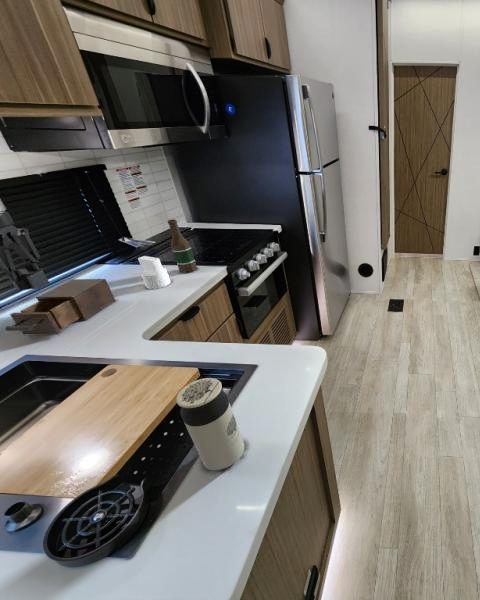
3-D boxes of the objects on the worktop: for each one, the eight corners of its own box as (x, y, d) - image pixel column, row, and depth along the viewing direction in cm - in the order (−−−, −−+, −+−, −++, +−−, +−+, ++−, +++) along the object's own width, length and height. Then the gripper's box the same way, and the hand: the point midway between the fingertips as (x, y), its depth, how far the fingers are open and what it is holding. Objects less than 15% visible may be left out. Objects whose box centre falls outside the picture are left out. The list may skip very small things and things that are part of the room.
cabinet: (86, 320, 118) (73, 296, 113) (50, 321, 118) (35, 297, 113) (116, 300, 131) (105, 278, 126) (83, 301, 130) (71, 279, 126)
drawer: (44, 343, 104) (31, 322, 101) (7, 343, 104) (-7, 322, 100) (91, 313, 120) (81, 294, 117) (59, 313, 120) (48, 294, 117)
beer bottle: (201, 269, 158) (185, 219, 146) (185, 274, 152) (167, 223, 141) (192, 265, 161) (175, 217, 150) (175, 271, 156) (157, 221, 144)
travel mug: (194, 468, 67) (163, 404, 59) (219, 436, 74) (194, 374, 66) (230, 474, 66) (204, 410, 58) (251, 440, 73) (231, 378, 64)
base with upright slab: (175, 281, 146) (166, 255, 140) (156, 290, 139) (145, 263, 133) (160, 278, 149) (151, 253, 143) (141, 287, 141) (129, 260, 135)
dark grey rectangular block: (38, 289, 105) (29, 273, 103) (16, 289, 105) (6, 274, 102) (50, 283, 109) (41, 268, 106) (28, 283, 109) (19, 269, 106)
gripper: (6, 206, 103) (45, 275, 114) (-61, 221, 88) (-8, 298, 99) (30, 206, 103) (67, 274, 114) (-32, 221, 88) (18, 298, 99)
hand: (32, 285), depth 107 cm, fingers closed on dark grey rectangular block, 4 cm apart
